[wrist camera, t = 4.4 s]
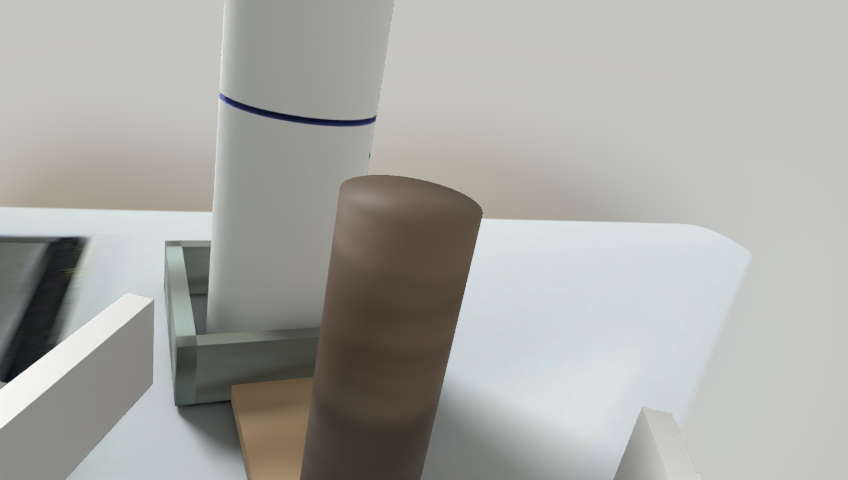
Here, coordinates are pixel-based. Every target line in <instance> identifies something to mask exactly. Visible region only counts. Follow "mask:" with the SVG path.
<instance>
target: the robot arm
mask: <svg viewBox="0 0 848 480" xmlns="http://www.w3.org/2000/svg"><path fill="white" fill-rule="evenodd" d="M153 337H154V299H152V298H148V297H143V296H139V295H134V294H129V293H126V294H124V295H123V296H122V297H120V298H119V299H118V300H117V301H115V302H114V303H113V304H111V305H110V306H109V307H107V308H106V309H105V310H103V311H102V312H101V313H100V314H98V315H97V316H96V317H94V318H93V319H92V320H90V321H89V322H88V323H87V324H85V325H84V326H83V327H81V328H80V329H79V330H77V331H76V332H75V333H73V334H72V335H71V336H70V337H68V338H67V339H66V340H64V341H63V342H62V343H60V344H59V345H58V346H56V347H55V348H54V349H53V350H51V351H50V352H49V353H47V354H46V355H45V356H43V357H42V358H41V359H39V360H38V361H37V362H36V363H34V364H33V365H32V366H30V367H29V368H28V369H26V370H25V371H24V372H22V373H21V374H20V375H19V376H17V377H16V378H15V379H13V380H12V381H11V382H9V383H4V382H0V480H65V479H66V478H67V477H68V476H69V475H70V474H71V473H72V472H73V470H74V469H75V468H76V467H77V466H78V465H79V464H80V463H81V462H82V461H83V460H84V458H85V457H86V456H87V455H88V454H89V453H90V452H91V451H92V450H93V449H94V448H95V446H96V445H97V444H98V443H99V442H100V441H101V440H102V439H103V438H104V437H105V436H106V434H107V433H108V432H109V431H110V430H111V429H112V428H113V427H114V426H115V425H116V424H117V422H118V421H119V420H120V419H121V418H122V417H123V416H124V415H125V414H126V413H127V412H128V410H129V409H130V408H131V407H132V406H133V405H134V404H135V403H136V402H137V401H138V400H139V398H140V397H141V396H142V395H143V394H144V393H145V392H146V391H147V390H148V389H149V388H150V386H151V385H152V384H153ZM614 480H701V479H700V477H699V475H698V472H697V470H696V468H695V466H694V463H693V461H692V459H691V456H690V454H689V452H688V450H687V447H686V445H685V443H684V441H683V438H682V436H681V434H680V432H679V429H678V427H677V425H676V423H675V420H674V418H673V416H672V414H671V413H667V412H662V411H658V410H653V409H649V408H644V407H642V409H641V411H640V414H639V416H638V419H637V421H636V424H635V427H634V429H633V432H632V434H631V437H630V439H629V442H628V444H627V447H626V449H625V452H624V455H623V457H622V460H621V462H620V465H619V467H618V470H617V472H616V475H615V477H614Z"/></svg>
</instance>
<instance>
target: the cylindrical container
mask: <svg viewBox="0 0 848 480" xmlns="http://www.w3.org/2000/svg"><path fill="white" fill-rule="evenodd" d="M393 6H394V0H224V16H223V35H222V52H221V70H220V71H221V72H220V87H219V89H220V92H221V94H220V95H219V106H218V124H217V142H216V162H215V179H214V180H215V181H214V197H213V216H212V234H211V252H210V270H209V288H208V306H207V323H206V334H221V333H237V332H252V331H268V330H283V329H299V328H314V327H321V321H322V314H323V307H324V299H325V292H326V285H327V277H328V270H329V263H330V256H331V248H332V241H333V234H334V226H335V219H336V212H337V205H338V197H339V190H340V186H341V184H342V183H343V182H344V181H346V180H348V179H351V178H354V177H358V176H366V175H367V174H368V167H369V161H370V151H371V148H372V142H373V135H374V129H375V122H376V116H377V109H378V102H379V96H380V90H381V83H382V77H383V70H384V64H385V57H386V51H387V44H388V38H389V31H390V25H391V19H392V12H393Z"/></svg>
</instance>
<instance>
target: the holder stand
mask: <svg viewBox="0 0 848 480" xmlns="http://www.w3.org/2000/svg"><path fill="white" fill-rule="evenodd" d="M482 214H483V212H482V209H481V207H480V206H479V205H478V204H477V203H476V202H475V201H474V200H472V199H471V198H469V197H468V196H466V195H464V194H462V193H460V192H458V191H455V190H453V189H451V188H448V187H445V186H442V185H439V184H435V183H432V182H428V181H423V180H419V179H414V178H408V177H401V176H390V175H366V176H358V177H354V178H351V179H348V180H346V181H344V182H343V183H342V184H341V186H340V190H339V197H338V205H337V212H336V219H335V226H334V234H333V241H332V248H331V256H330V263H329V270H328V277H327V285H326V292H325V299H324V307H323V314H322V321H321V327H314V328H299V329H283V330H268V331H252V332H237V333H221V334H206V335H196V332H195V325H194V319H193V313H192V307H191V300H190V294H205V293H208V288H209V270H210V252H211V241H165V279H164V291H165V302H166V313H167V324H168V335H169V346H170V357H171V368H172V379H173V390H174V401H175V406H179V405H188V404H197V403H206V402H215V401H224V400H231V404H232V408H233V413H234V418H235V422H236V427H237V432H238V436H239V441H240V446H241V451H242V455H243V460H244V465H245V469H246V474H247V479H248V480H420V478H421V474H422V469H423V465H424V461H425V457H426V452H427V448H428V444H429V440H430V435H431V431H432V427H433V423H434V418H435V414H436V410H437V406H438V401H439V397H440V393H441V389H442V384H443V380H444V376H445V372H446V367H447V363H448V359H449V355H450V350H451V346H452V342H453V338H454V333H455V329H456V325H457V321H458V316H459V312H460V308H461V304H462V299H463V295H464V291H465V287H466V282H467V278H468V274H469V270H470V265H471V261H472V257H473V253H474V248H475V244H476V240H477V235H478V231H479V227H480V223H481V218H482Z"/></svg>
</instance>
